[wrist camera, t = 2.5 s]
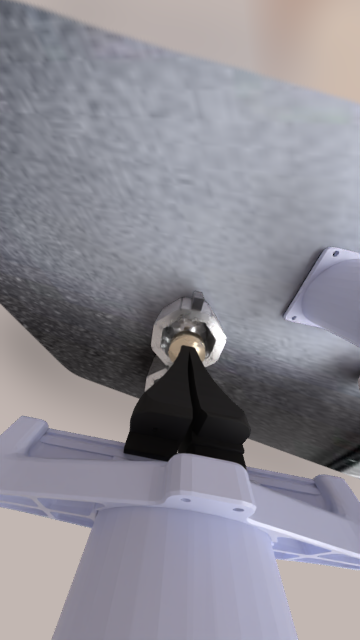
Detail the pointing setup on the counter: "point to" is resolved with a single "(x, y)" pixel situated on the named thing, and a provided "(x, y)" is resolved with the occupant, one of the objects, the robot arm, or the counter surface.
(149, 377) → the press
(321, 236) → the counter surface
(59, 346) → the counter surface
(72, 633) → the robot arm
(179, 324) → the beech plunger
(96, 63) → the counter surface
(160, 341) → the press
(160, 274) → the counter surface
